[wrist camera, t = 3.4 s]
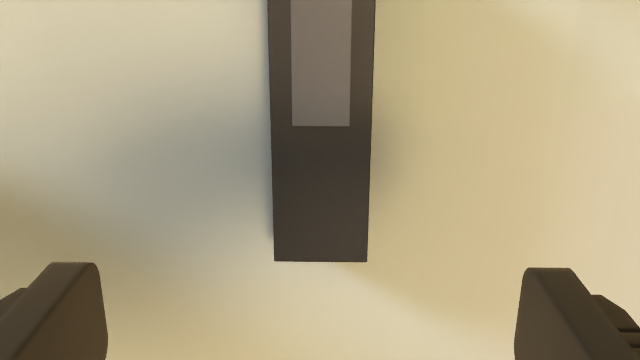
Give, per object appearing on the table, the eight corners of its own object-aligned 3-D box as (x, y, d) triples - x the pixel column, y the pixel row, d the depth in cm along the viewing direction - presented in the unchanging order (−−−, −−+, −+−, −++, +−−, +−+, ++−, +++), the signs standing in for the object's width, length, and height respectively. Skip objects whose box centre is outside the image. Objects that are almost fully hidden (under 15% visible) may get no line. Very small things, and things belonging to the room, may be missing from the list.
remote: (279, 234, 33) (273, 263, 30) (272, -86, 28) (264, -92, 24) (363, 234, 33) (367, 264, 30) (373, -86, 28) (378, -91, 24)
